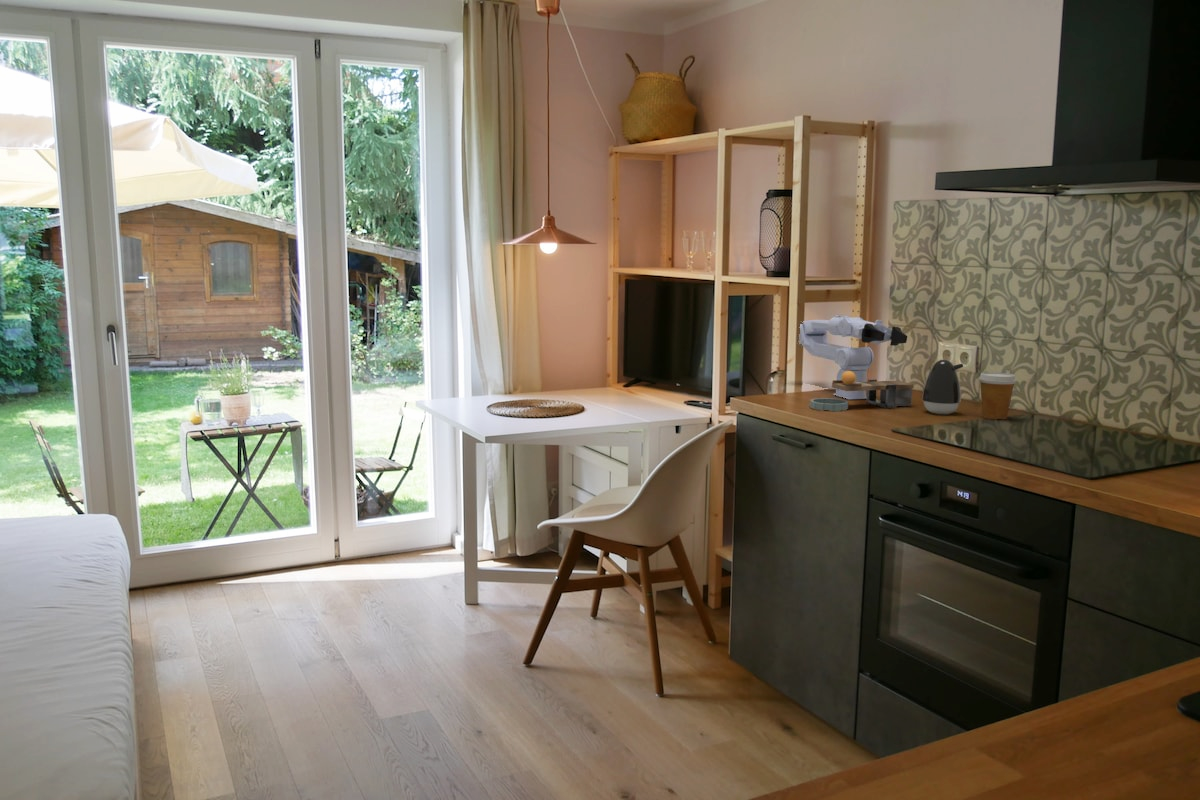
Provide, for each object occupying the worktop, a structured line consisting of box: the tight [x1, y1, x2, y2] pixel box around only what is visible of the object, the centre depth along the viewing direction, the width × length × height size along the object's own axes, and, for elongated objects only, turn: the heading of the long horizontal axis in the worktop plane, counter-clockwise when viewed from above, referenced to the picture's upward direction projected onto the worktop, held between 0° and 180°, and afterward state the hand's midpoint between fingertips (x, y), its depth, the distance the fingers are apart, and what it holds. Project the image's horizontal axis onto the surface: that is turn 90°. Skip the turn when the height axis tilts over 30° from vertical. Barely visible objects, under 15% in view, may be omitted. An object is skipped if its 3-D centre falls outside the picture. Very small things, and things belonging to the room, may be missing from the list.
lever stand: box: [866, 378, 912, 410], centre depth 288 cm, size 9×11×7 cm
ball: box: [842, 371, 856, 384], centre depth 283 cm, size 4×4×4 cm
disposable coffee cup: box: [978, 371, 1017, 420], centre depth 269 cm, size 10×10×12 cm
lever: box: [831, 379, 914, 404], centre depth 286 cm, size 22×8×6 cm, turn 107°
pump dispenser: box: [922, 359, 964, 415], centre depth 275 cm, size 10×10×15 cm
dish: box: [809, 397, 849, 412], centre depth 283 cm, size 11×11×2 cm
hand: (894, 338), depth 280 cm, fingers open, 7 cm apart
